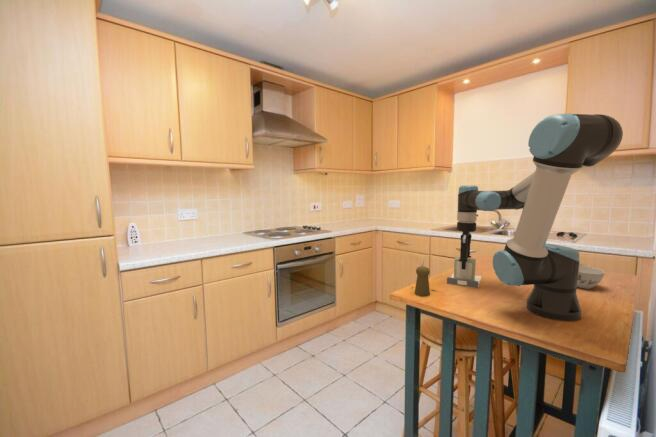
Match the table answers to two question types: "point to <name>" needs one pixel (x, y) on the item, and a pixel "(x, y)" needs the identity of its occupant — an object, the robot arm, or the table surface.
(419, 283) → the olive tapered upright piece
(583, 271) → the teacup
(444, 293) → the table surface
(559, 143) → the robot arm
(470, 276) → the tea tin
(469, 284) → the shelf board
